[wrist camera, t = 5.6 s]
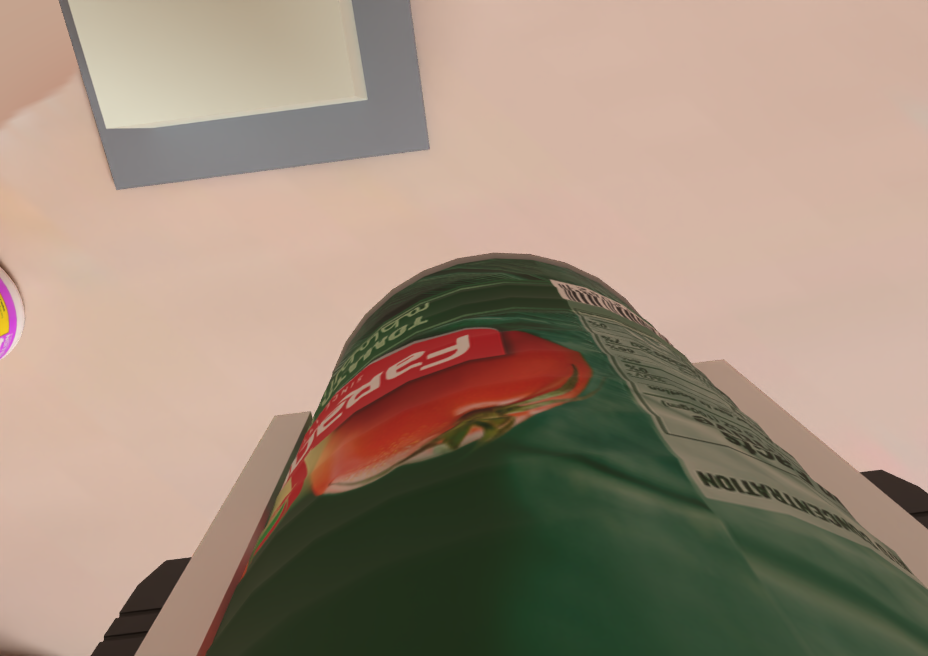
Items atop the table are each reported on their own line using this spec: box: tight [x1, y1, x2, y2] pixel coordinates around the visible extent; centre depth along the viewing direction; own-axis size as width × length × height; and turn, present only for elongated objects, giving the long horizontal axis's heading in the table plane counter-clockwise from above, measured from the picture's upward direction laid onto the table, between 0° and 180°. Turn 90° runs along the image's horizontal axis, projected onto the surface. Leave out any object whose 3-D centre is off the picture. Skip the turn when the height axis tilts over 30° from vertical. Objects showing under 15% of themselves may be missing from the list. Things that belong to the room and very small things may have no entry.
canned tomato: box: [205, 253, 928, 656], centre depth 9 cm, size 8×8×11 cm
